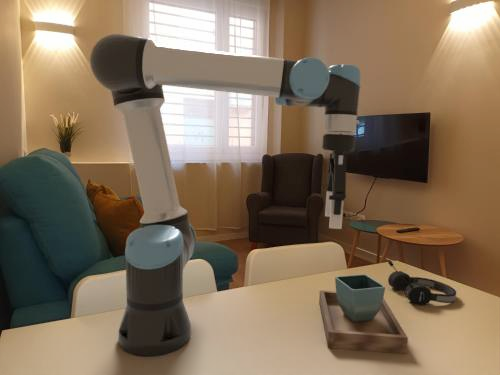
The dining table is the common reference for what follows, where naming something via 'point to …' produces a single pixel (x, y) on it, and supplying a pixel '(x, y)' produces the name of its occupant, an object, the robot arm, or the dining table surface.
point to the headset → (420, 288)
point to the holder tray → (361, 328)
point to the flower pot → (359, 296)
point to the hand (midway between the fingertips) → (332, 222)
